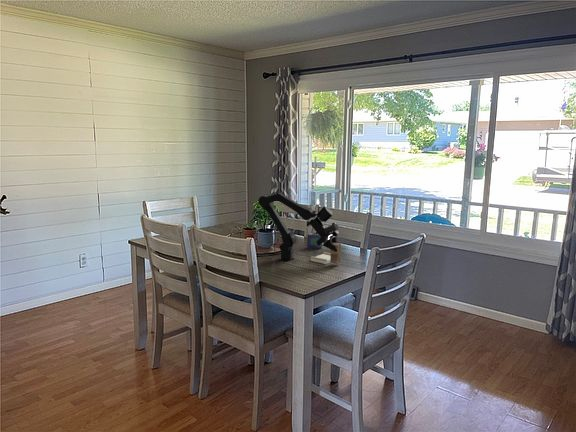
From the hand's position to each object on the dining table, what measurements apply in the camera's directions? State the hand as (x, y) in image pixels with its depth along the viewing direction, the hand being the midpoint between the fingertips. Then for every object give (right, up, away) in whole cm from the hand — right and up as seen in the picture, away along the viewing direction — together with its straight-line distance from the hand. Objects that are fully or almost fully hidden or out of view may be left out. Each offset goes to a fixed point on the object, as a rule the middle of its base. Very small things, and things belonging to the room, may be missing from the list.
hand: (338, 250), depth 228 cm
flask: (-10, -2, +37) cm, 38 cm away
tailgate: (-6, -6, +12) cm, 15 cm away
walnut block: (-1, -6, +2) cm, 7 cm away
